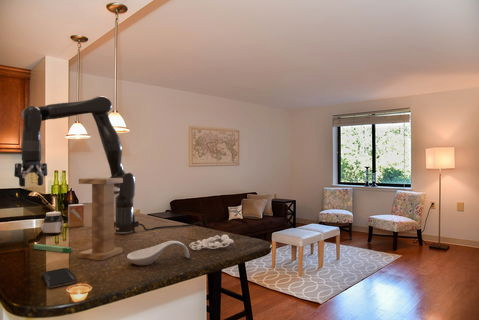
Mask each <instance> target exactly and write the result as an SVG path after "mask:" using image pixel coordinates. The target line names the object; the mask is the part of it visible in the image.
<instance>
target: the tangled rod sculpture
mask: <svg viewBox="0 0 479 320" xmlns="http://www.w3.org/2000/svg"><path fill="white" fill-rule="evenodd" d="M218 240H220V241H221V242H220V241H218ZM233 244H234V240H233V239H232V238H230V237H229V235H227V234H222V235H221V236H220V235H218V234H216V235H215V236H211V237H208V238H207V239H206V238H204V239H202V240H200V239H198V240H197V241H194V242H193V241H192V242H191V243H190V244H189V245H188V247H189V248H190V249H191V250H193V251H196V250H197V251H199V252H200V251H201V250H202V249H206V250H207V249H210V250H216V249H219V248H226V247H229V246H231V245H233Z"/></svg>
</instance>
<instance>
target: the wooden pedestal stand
mask: <svg viewBox="0 0 479 320" xmlns="http://www.w3.org/2000/svg"><path fill="white" fill-rule="evenodd" d="M115 183H123V178H110V177H88V178H78V184H79V185H91V248H89V249H85V250H83V251H80V252H78V258H79V259H80V258H81V259H87V260H96V261H104V260H108V259H109V258H112V257H115V256H117V255H119V254H122V253H123V251H124V250H123V248H124V247H120V246H119V247H118V246H115V223H114V184H115Z"/></svg>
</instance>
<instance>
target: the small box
mask: <svg viewBox="0 0 479 320" xmlns="http://www.w3.org/2000/svg"><path fill="white" fill-rule="evenodd" d="M67 226H68V228H77V227H85V204H83V203H76V204H75V203H73V204H68V205H67Z"/></svg>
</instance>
